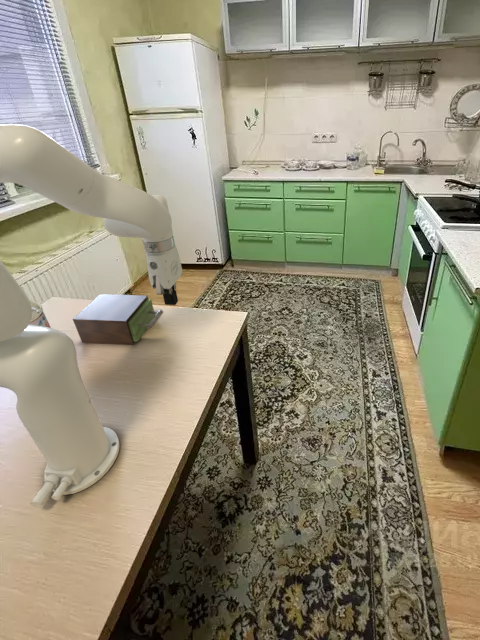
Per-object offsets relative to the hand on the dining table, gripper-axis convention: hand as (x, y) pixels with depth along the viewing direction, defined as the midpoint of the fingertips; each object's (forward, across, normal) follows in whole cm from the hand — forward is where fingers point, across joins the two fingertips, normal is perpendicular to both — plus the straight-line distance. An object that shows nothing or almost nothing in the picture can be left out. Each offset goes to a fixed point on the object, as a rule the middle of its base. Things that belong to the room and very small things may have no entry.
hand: (171, 303), depth 91 cm
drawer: (+10, +1, +15) cm, 18 cm away
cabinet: (+11, +1, +19) cm, 22 cm away
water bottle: (+12, -18, +25) cm, 33 cm away
